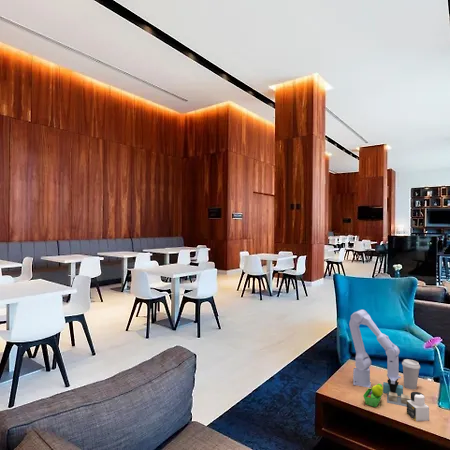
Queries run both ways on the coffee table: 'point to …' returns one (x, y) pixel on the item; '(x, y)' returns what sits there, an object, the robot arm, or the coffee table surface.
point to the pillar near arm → (392, 396)
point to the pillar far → (404, 398)
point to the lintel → (387, 389)
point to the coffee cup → (410, 373)
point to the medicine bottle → (417, 407)
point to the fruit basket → (373, 395)
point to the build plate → (396, 402)
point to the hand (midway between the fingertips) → (393, 391)
